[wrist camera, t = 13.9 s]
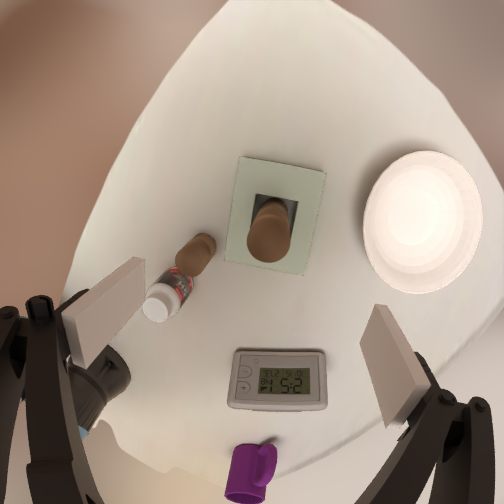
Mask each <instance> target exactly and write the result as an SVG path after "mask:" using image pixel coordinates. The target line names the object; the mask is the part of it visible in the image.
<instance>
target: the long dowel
mask: <svg viewBox="0 0 504 504" xmlns="http://www.w3.org/2000/svg"><path fill="white" fill-rule="evenodd" d="M247 247H248V250H249V252H250V254H251V255H252V256H253V257H254V258H255V259H257V260H259V261H261V262H264V263H273V262H277V261H279V260H281V259H282V258H283V257H285V255H286V254H287V253H288V251H289V248H290V229H289V218H288V209H287V206H286V204H285V203H284V202H283V201H282V200H280V199H278V198H269V199H267V200H265V201H264V202H263V203H262V205H261V207H260V209H259V211H258V213H257V215H256V218H255V220H254V222H253V224H252V226H251V228H250V231H249V233H248V235H247Z"/></svg>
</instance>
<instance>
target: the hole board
mask: <svg viewBox="0 0 504 504" xmlns="http://www.w3.org/2000/svg"><path fill="white" fill-rule="evenodd" d="M325 178H326V173H324V172H321V171H317V170H312V169H307V168H302V167H297V166H292V165H287V164H282V163H276V162H271V161H265V160H259V159H253V158H247V157H239V163H238V170H237V176H236V182H235V189H234V195H233V202H232V208H231V215H230V222H229V229H228V236H227V243H226V250H225V257H224V261H229V262H234V263H239V264H244V265H249V266H255V267H260V268H265V269H270V270H275V271H281V272H286V273H291V274H297V275H302V276H304V272H305V268H306V264H307V260H308V256H309V251H310V247H311V243H312V238H313V234H314V230H315V225H316V221H317V216H318V212H319V207H320V202H321V197H322V193H323V188H324V183H325ZM258 194H263V195H268V196H273V197H279V198H284V199H289V200H294V201H296V206H295V211H294V216H293V221H292V226H291V231H290V248H289V251H288V253H287V254H286V255H285V257H283V258H282V259H281V260H279V261H277V262H273V263H264V262H261V261H259V260H257V259H255V258H254V257H253V256H252V255H251V254H250V252H249V250H248V247H247V235H248V233H249V231H250V228H251V226H252V224H253V219H254V213H255V207H256V201H257V195H258Z"/></svg>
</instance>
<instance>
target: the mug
mask: <svg viewBox="0 0 504 504" xmlns="http://www.w3.org/2000/svg"><path fill="white" fill-rule="evenodd" d="M276 463H277V449H276V447H275V446H274V445H273V444H266V445H264V446H262V447H259V446H257V445H253V444H244V445H241V446H238V447H236V448H235V450H234V452H233V456H232V461H231V466H230V471H229V476H228V480H227V485H226V490H225V495H224V496H225V497H226V498H227V499H228V500H230V501H233V502H235V503H240V504H259V503H262V502H263V501H264V500H265V492H266V485H267V484H268V483H269V482H270V481H271V479H272V477H273V475H274V472H275V468H276Z"/></svg>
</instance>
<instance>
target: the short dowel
mask: <svg viewBox="0 0 504 504" xmlns="http://www.w3.org/2000/svg"><path fill="white" fill-rule="evenodd" d="M216 248H217V246H216V242H215V240H214V239H213V238H212V237H211V236H210V235H208V234H204V233H202V234H198V235H196V236H195V237H194V238H193V239H192V240H190V241H189V242H188V243H187V244H186V245H185V246H184V247H183V248H182V249H181V250H180V251H179V252H178V253H177V255H176V258H175V263H176V266H177V268H178V270H179V271H180V272H181V273H182V274H184V275H186V276H189V277H194V276H197V275H199V274H200V273H201V272H202V271H203V269H204V268H205V267H206V265H207V264H208V262H209V261H210V259H211V258H212V257H213V255H214V254H215V252H216Z"/></svg>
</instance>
